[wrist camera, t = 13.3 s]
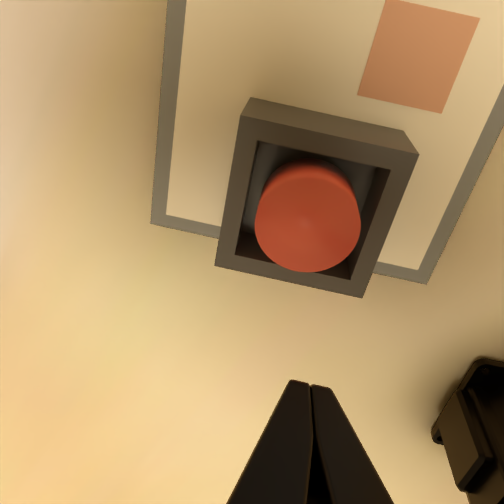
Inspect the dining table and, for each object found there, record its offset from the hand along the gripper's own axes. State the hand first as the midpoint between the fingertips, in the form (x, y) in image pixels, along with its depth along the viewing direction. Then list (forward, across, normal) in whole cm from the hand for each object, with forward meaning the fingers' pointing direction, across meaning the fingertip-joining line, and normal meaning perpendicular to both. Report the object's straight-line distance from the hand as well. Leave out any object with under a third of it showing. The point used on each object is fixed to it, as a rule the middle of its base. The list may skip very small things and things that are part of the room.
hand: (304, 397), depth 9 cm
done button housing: (+11, 0, 0) cm, 11 cm away
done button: (+9, 0, 0) cm, 9 cm away
